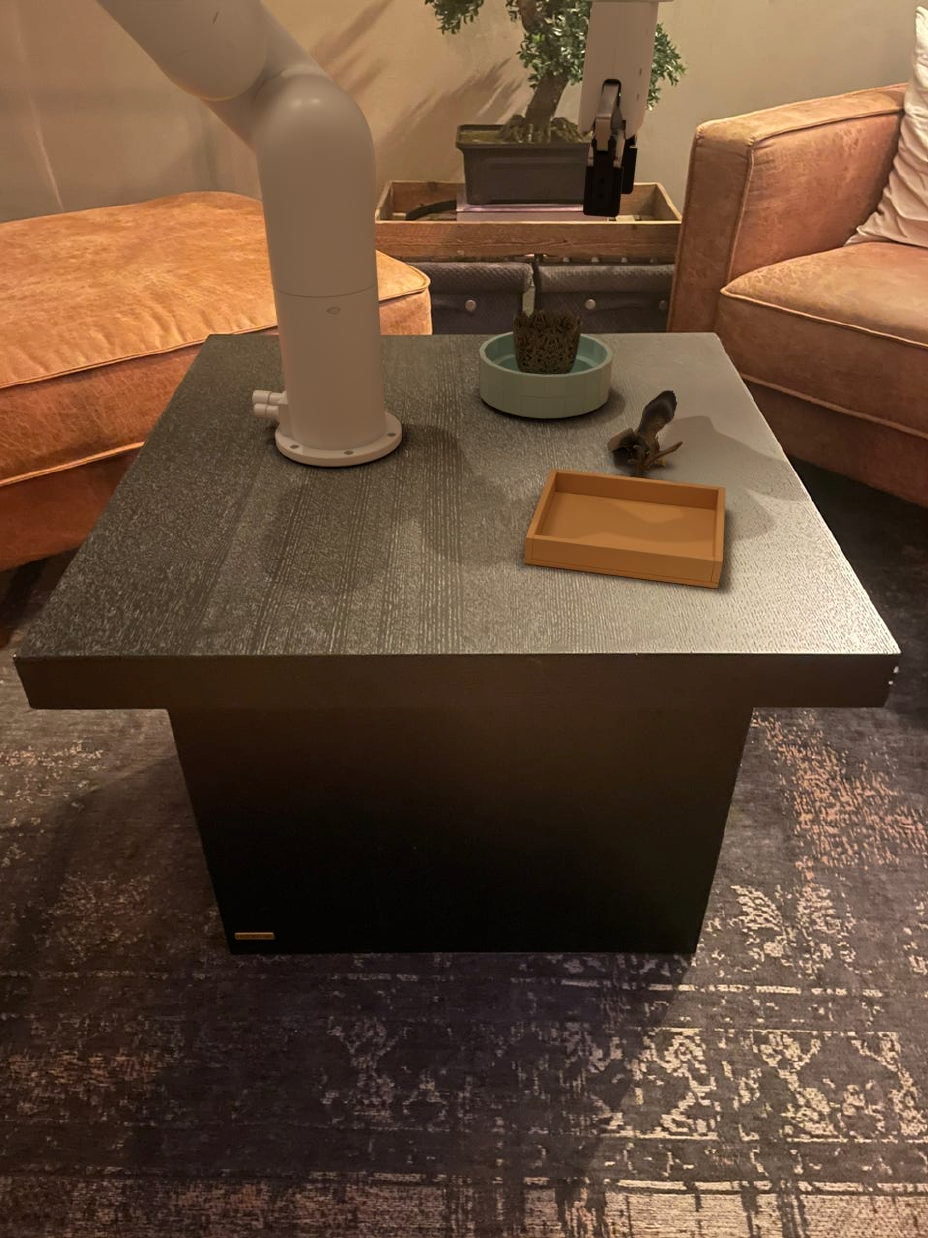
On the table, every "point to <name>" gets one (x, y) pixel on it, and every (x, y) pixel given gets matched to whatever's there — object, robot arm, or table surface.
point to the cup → (546, 342)
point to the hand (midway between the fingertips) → (608, 203)
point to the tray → (629, 527)
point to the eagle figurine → (648, 434)
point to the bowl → (544, 381)
